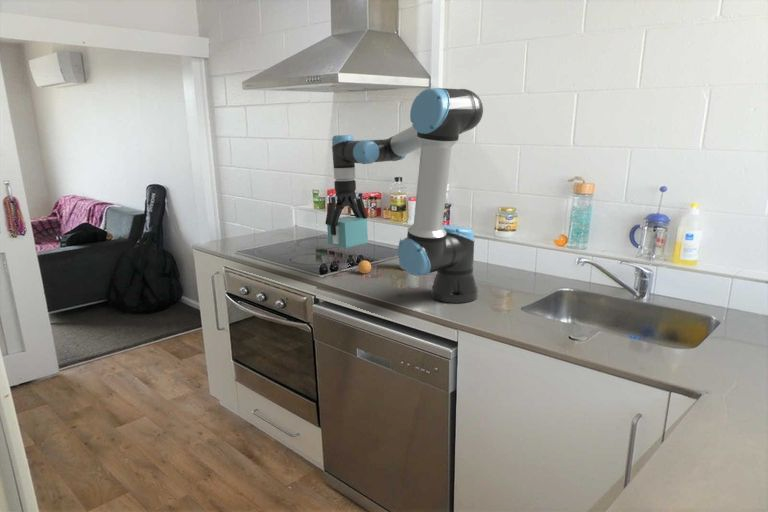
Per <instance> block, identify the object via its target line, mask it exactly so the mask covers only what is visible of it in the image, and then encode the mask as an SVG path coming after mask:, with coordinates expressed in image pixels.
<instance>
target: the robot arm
mask: <svg viewBox="0 0 768 512" xmlns="http://www.w3.org/2000/svg"><path fill="white" fill-rule="evenodd" d="M483 113H484V106H483V102H482V100H481V98H480V96H479V95H477V94H476V93H475V92H474V91H473V90H470V89H466V88H447V87H446V88H441V87H434V88H432V87H431V88H427V89H424V90H422V91H420V92H419V93H418V94H417V96H416V97H415V98H414V100H413V101H412V104H411V107H410V113H409V117H410V118H409V119H410V122H411V123H412V125H411V126H410V127H408V128H406V129H404V130H402V131H400V132H398V133H397V134H394V135H393V136H391V137H389V138H385V139H365V140H364V139H363V140H355V139H354V136H353V135H352V134H341V135H340V134H338V135H337V134H336V135H335V134H334V135H333V136H332V138H331V143H332V144H331V145H332V146H331V151H332V163H333V179H334V180H335V181H334V182H333V183H334V184H333V185H334V192H335V195H334V196H328V206H327V212H326V218H325V222H324V223H325V226H327V225H330V227H331V235H333V244H339V229H338V226H336V225H337V222H338V220H339V218H341V217H340V216H341V214H342V211H343V210H344V208H345V207H349V208H350V209H351V211H352V213H353V214H354V217H357V218H364V219H367V220H368V215H367V210H366V207H365V204H364V200H363V193H362V192H356V190H357V185H356V184H357V183H356V182H357V181H356V180H355V179H356V166H355V164H362V165H370V164H373V163H380V162H381V163H383V162H396V161H397V162H398V161H402V160H403V159H405V158H406V156H407V155H408V154H411V153H413V152H415V151H417V150H419V149H420V157H419V164H418V165H419V167H418V176H417V186H416V187H417V188H416V195H415V204H414V205H415V206H414V215H413V223H412V224H411V225H410V226H409V227H407V234H406V237H407V239H404V240H402V241H401V242H400V244H399V243H398V246H397V256H398V260H400V263H401V264H402V266H403V268H404V269H405V270H404V271H405V272H407V273H408V274H409V275H411V276H414V277H415V276H416V277H418V276H427V275H429V274H432V273H436V274H435V277H434V278H435V279H434V280H433V284H432V287H431V297H432V298H433V299H435V300H437V301H439V302H443V303H448V304H449V303H450V304H451V303H452V304H462V303H469V302H473V301H474V300H477V299H478V297H479V289H478V286H477V282H476V279H475V275H474V261H475V260H474V255H475V254H474V253H475V233H474V230H472V229H471V228H470V227H465V226H460V225H448V224H447V225H446V224H445V225H444V224H443V223H444V215H445V214H444V213H445V206H446V198H447V189H448V182H449V174H450V167H451V166H450V165H451V159H452V158H451V157H452V150H453V146H454V145H455V144H457V142H459V137H460V135H461V134H463V133H466V132H469V131H470V130H473V129H474V128H476V127H477V126H478V124H479V123H480V122H481V120H482V118H483V115H484V114H483Z"/></svg>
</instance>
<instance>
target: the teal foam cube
mask: <svg viewBox="0 0 768 512" xmlns="http://www.w3.org/2000/svg"><path fill="white" fill-rule="evenodd" d="M336 226H338V229H339V244H333V235H331V227H330V225H326V227H327V228H326V229H327V243H328V245H332V246H336V247H341V248H345V249H347V248H351V247H356V246H360V245H364V244H369V243H368V242H369V238H368V235H369V234H368V218H367V219H364V218H357V217H355V216H349V215H347V216H343V217H339V220H338V222H337V225H336Z"/></svg>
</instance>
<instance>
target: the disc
mask: <svg viewBox="0 0 768 512" xmlns="http://www.w3.org/2000/svg"><path fill="white" fill-rule="evenodd" d="M349 263H350V262H340V263H337V264H338V265H339V266H340V267H341V268H347V267H349V266H351V265H350V264H349ZM348 264H349V265H348ZM356 270H357V271H358V267H356V268H354V269H352V270H348V271H347V272H353V271H356Z"/></svg>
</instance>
